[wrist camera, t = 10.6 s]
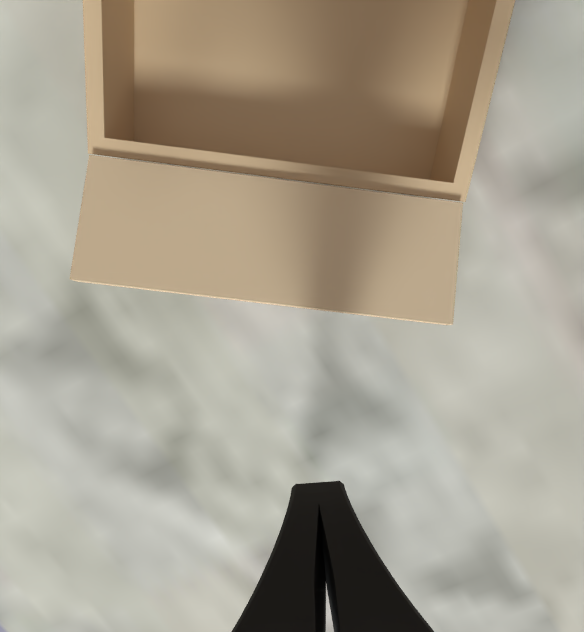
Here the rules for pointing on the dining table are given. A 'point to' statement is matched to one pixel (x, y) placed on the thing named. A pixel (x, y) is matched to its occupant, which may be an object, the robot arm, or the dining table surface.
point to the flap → (267, 241)
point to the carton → (297, 87)
